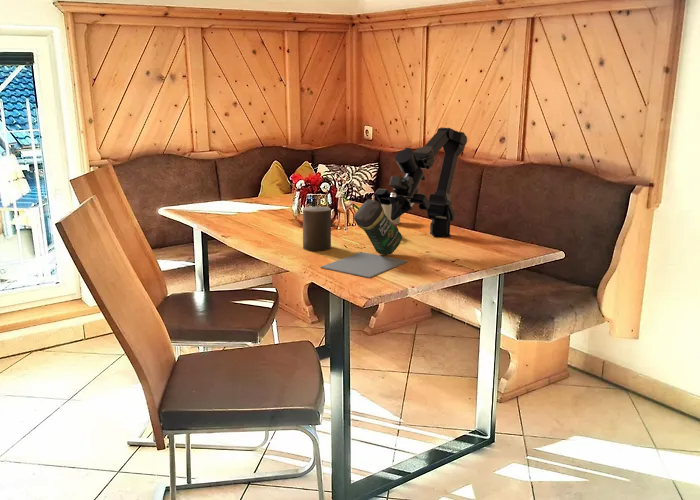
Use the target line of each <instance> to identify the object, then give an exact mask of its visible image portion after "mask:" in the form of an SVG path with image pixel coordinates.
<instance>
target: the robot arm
mask: <svg viewBox="0 0 700 500" xmlns="http://www.w3.org/2000/svg"><path fill="white" fill-rule="evenodd" d="M467 142H468V137H467V135H466V133H465V132H464V131H463V132H462V131H457V130H455V129H453V128H451V127H439V128H437V130H436V133H435V134H434V135H433V136H432V137H431V138H430V140H428V142H427V143H425V145H424V146H422V147H418V148H416V149H415V150H414V151H413V149H412V148H411V147H405V148H404V150H401V151H399V152H398V153H396V154H395V162H396V164H397V165H398V167H399V169H400V171H401V172H402V173H403V174H404V176H403V177H402V176H394V175H392V176H391V177H390V180H389V185H388V186H389V187H392V188H393V189H392V191H393V192H390V190H389V189H388V188H387V189H386V188H377V189H376V191H375V193H374V195H375V197H376V199H377V201H378V203H379V204H380V205H382V204H384V205H390V204H392V209H391V220H395V219H397V218H398V217H399V216H400V217H401V216H402V215H404V214H405V213H407V212H409V211H412V210H413V206H414V205H415V204H419V205H418V208H419V210H421V211H426V212H427V218H428V219H431V222H430V223H429V224H430V225H429V229H430V230H429V234H430V235H432V236H433V238H441V237H442V238H445V237H452V234H451V222H453V221H454V220H455V216H456V213H455V211H454V209H453V207H452V203H453V202H452V198H451V196H450V192H451V187H452V184H453V180H454V174H455V171H456V166H457V162H458V158H459V156H460V155H462V153H463V152H464V150H465V146H466V145H467ZM441 149H443V152H444V157H443V159H442V160H443V161H442V165H441V169H440V173H439V176H438V177H439V178H438V182H437V186H436V190H435V192H433V193H430V195H429V196H428V197H429V198H428V197H427V195H426V193H419V189H418V187H419V185H420V182H421V181H425V180H426V176H425V172H424V171H423V170H430V169H431V168H432V166H433V164H434V163H435V161H436V160H435V157H436V155H437V154H438V153H439V151H440V150H441Z"/></svg>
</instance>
